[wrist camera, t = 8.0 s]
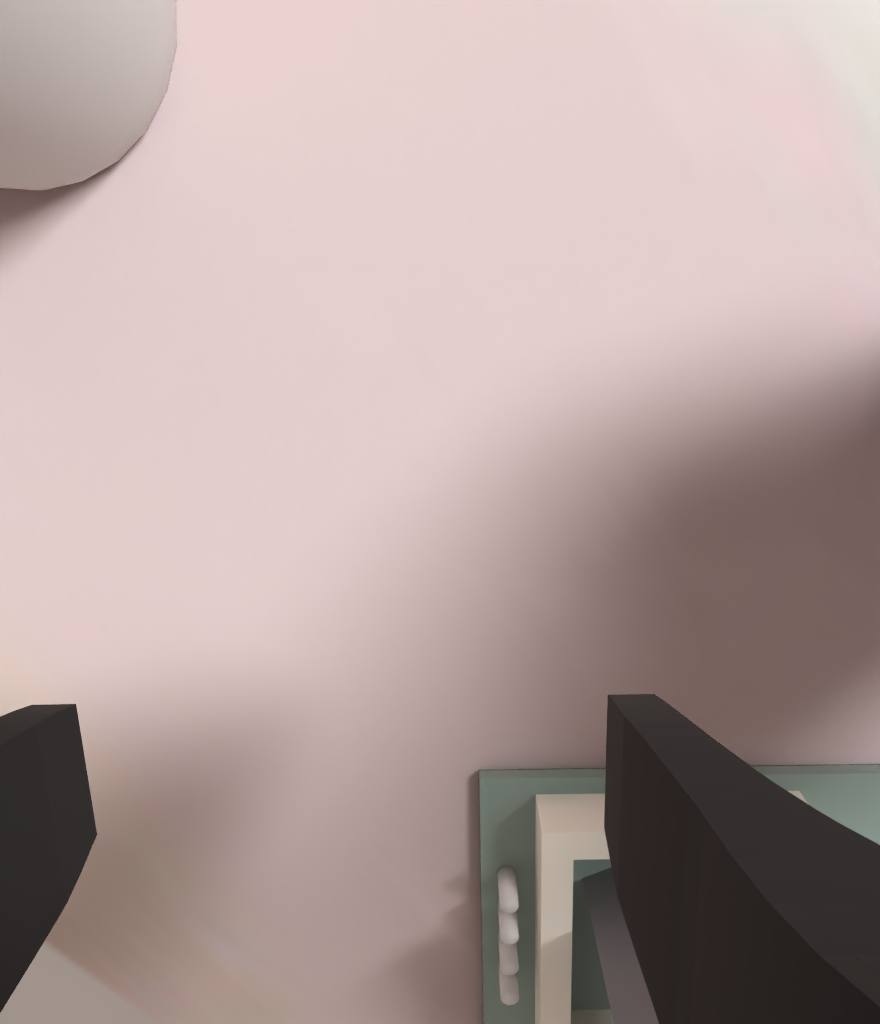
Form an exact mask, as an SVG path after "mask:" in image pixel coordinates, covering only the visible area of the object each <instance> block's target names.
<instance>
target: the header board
mask: <svg viewBox="0 0 880 1024" xmlns="http://www.w3.org/2000/svg"><path fill="white" fill-rule="evenodd" d="M751 767H753V768H754V769H755V770H757V771H758V772H760V773H761V774H763V775H764V776H766V777H767V778H768V779H770V780H771V781H773V782H774V783H776V784H777V785H779V786H780V787H782V788H784V789H785V790H787V791H788V792H790V793H791V794H793V795H794V796H796V797H798V798H799V799H801V800H802V801H804V802H805V803H807V804H809V805H810V806H812V807H813V808H815V809H816V810H818V811H820V812H821V813H823V814H825V815H826V816H828V817H830V818H832V819H833V820H835V821H837V822H838V823H840V824H842V825H844V826H846V827H847V828H849V829H851V830H853V831H855V832H857V833H859V834H860V835H862V836H864V837H866V838H868V839H870V840H872V841H873V842H875V843H877V844H879V845H880V764H871V765H805V766H751ZM605 778H606V769H540V770H479V799H480V857H481V914H482V971H483V1024H614V1022H613V1018H612V1013H611V1008H610V1004H609V999H608V995H607V990H606V985H605V981H604V976H603V972H602V967H601V962H600V958H599V953H598V949H597V944H596V939H595V935H594V930H593V925H592V921H591V916H590V912H589V907H588V902H587V898H586V893H585V889H584V884H583V879H582V878H584V877H587V876H590V875H592V874H595V873H597V872H600V871H603V870H605V869H608V868H611V862H610V857H609V851H608V846H607V841H606V835H605V830H604V813H605Z"/></svg>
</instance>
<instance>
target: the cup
mask: <svg viewBox="0 0 880 1024" xmlns="http://www.w3.org/2000/svg"><path fill="white" fill-rule="evenodd" d="M176 48H177V21H176V0H0V188H9V189H25V190H41V191H43V190H48V189H52V188H56V187H61V186H65V185H69V184H74V183H78V182H82V181H84V180H86V179H88V178H89V177H91V176H93V175H95V174H96V173H98V172H100V171H102V170H103V169H105V168H107V167H109V166H110V165H112V164H114V163H116V162H117V161H119V159H120V158H121V157H122V156H123V155H124V154H125V153H126V152H127V151H128V150H129V149H130V148H131V147H132V146H133V145H134V143H135V142H136V141H137V140H138V139H139V138H140V137H141V136H142V135H143V134H144V133H145V132H146V131H147V129H148V127H149V125H150V123H151V121H152V119H153V117H154V115H155V113H156V111H157V110H158V108H159V106H160V104H161V102H162V100H163V98H164V96H165V94H166V92H167V89H168V84H169V80H170V75H171V71H172V66H173V61H174V57H175V52H176Z"/></svg>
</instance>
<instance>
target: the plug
mask: <svg viewBox="0 0 880 1024" xmlns="http://www.w3.org/2000/svg"><path fill="white" fill-rule="evenodd" d="M582 879H583V884H584V889H585V893H586V898H587V902H588V907H589V912H590V916H591V921H592V925H593V930H594V935H595V939H596V944H597V949H598V953H599V958H600V962H601V967H602V972H603V976H604V981H605V985H606V990H607V995H608V999H609V1004H610V1008H611V1013H612V1018H613V1022H614V1024H659V1022H658V1019H657V1016H656V1013H655V1010H654V1007H653V1004H652V1001H651V998H650V995H649V992H648V989H647V986H646V983H645V980H644V977H643V974H642V971H641V968H640V965H639V962H638V959H637V956H636V953H635V949H634V946H633V943H632V940H631V937H630V934H629V931H628V928H627V925H626V922H625V919H624V916H623V912H622V909H621V906H620V903H619V900H618V896H617V891H616V887H615V882H614V877H613V872H612V867H611V868H608V869H605V870H603V871H600V872H597V873H595V874H592V875H590V876H587V877H584V878H582Z"/></svg>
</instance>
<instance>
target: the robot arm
mask: <svg viewBox="0 0 880 1024" xmlns="http://www.w3.org/2000/svg"><path fill="white" fill-rule="evenodd" d="M604 830H605V835H606V841H607V846H608V851H609V857H610V862H611V867H612V872H613V877H614V882H615V887H616V891H617V896H618V900H619V903H620V906H621V909H622V912H623V916H624V919H625V922H626V925H627V928H628V931H629V934H630V937H631V940H632V943H633V946H634V949H635V953H636V956H637V959H638V962H639V965H640V968H641V971H642V974H643V977H644V980H645V983H646V986H647V989H648V992H649V995H650V998H651V1001H652V1004H653V1007H654V1010H655V1013H656V1016H657V1019H658V1022H659V1024H880V845H879V844H877V843H875V842H873V841H872V840H870V839H868V838H866V837H864V836H862V835H860V834H859V833H857V832H855V831H853V830H851V829H849V828H847V827H846V826H844V825H842V824H840V823H838V822H837V821H835V820H833V819H832V818H830V817H828V816H826V815H825V814H823V813H821V812H820V811H818V810H816V809H815V808H813V807H812V806H810V805H809V804H807V803H805V802H804V801H802V800H801V799H799V798H798V797H796V796H794V795H793V794H791V793H790V792H788V791H787V790H785V789H784V788H782V787H780V786H779V785H777V784H776V783H774V782H773V781H771V780H770V779H768V778H767V777H766V776H764V775H763V774H761V773H760V772H758V771H757V770H755V769H754V768H753V767H751V766H750V765H748V764H747V763H746V762H744V761H743V760H741V759H740V758H739V757H737V756H736V755H735V754H733V753H732V752H730V751H729V750H728V749H726V748H725V747H724V746H722V745H721V744H720V743H718V742H717V741H716V740H714V739H713V738H712V737H710V736H709V735H708V734H706V733H705V732H704V731H703V730H701V729H700V728H699V727H697V726H696V725H695V724H693V723H692V722H691V721H690V720H688V719H687V718H686V717H684V716H683V715H682V714H681V713H679V712H678V711H677V710H675V709H674V708H673V707H671V706H670V705H669V704H667V703H666V702H665V701H663V700H662V699H660V698H659V697H657V696H656V695H654V694H641V695H608V709H607V744H606V778H605V813H604ZM96 835H97V832H96V826H95V820H94V813H93V807H92V801H91V795H90V789H89V782H88V776H87V770H86V764H85V758H84V751H83V745H82V739H81V733H80V727H79V720H78V714H77V708H76V704H59V705H30V706H27V707H24V708H22V709H19V710H16V711H13V712H11V713H8V714H6V715H3V716H1V717H0V1012H1V1011H2V1009H3V1007H4V1006H5V1004H6V1003H7V1001H8V999H9V998H10V996H11V994H12V993H13V991H14V990H15V988H16V986H17V985H18V983H19V982H20V980H21V978H22V977H23V975H24V974H25V972H26V970H27V969H28V967H29V965H30V964H31V962H32V960H33V959H34V957H35V956H36V954H37V952H38V951H39V949H40V947H41V946H42V944H43V942H44V941H45V939H46V937H47V936H48V934H49V932H50V931H51V929H52V927H53V926H54V924H55V922H56V921H57V919H58V917H59V916H60V914H61V912H62V911H63V909H64V907H65V905H66V904H67V902H68V899H69V897H70V895H71V893H72V891H73V889H74V886H75V884H76V882H77V880H78V878H79V876H80V874H81V871H82V869H83V866H84V864H85V862H86V859H87V857H88V855H89V852H90V850H91V847H92V845H93V843H94V840H95V838H96Z"/></svg>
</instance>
